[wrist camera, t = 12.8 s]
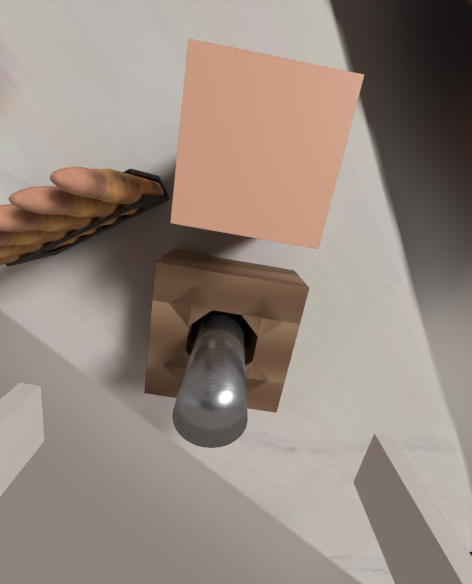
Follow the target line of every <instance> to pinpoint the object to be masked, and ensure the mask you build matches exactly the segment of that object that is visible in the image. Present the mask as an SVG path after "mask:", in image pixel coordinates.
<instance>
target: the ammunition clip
mask: <svg viewBox="0 0 472 584" xmlns="http://www.w3.org/2000/svg"><path fill="white" fill-rule="evenodd" d="M50 179H51V181H52V182H53V183H54V184H55V185H56V187H53V186H42V187H31V188H26V189H23V190H20V191H17V192H15V193H13V194H12V195H11V196H10V197H9V201H10V202H11V203H12V204H8V205H1V206H0V265H3V264H6V265H7V266H12V265H16V264H20V263H24V262H28V261H31V260H35V259H39V258H43V257H47V256H51V255H54V254H58V253H60V252H62V251H64V250H66V249H68V248H70V247H72V246H74V245H76V244H78V243H80V242H82V241H85V240H87V239H89V238H91V237H93V236H95V235H97V234H99V233H101V232H103V231H105V230H107V229H109V228H112V227H114V226H116V225H118V224H120V223H122V222H124V221H126V220H128V219H130V218H132V217H134V216H136V215H139V214H141V213H143V212H145V211H147V210H149V209H151V208H153V207H155V206H157V205H159V204H161V203H164V202H166V201H168V200H169V196H168V194H167V192H166V190H165V188H164V186H163V184H162V182H161V180H160V178H159V176H156V175H152V174H149V173H145V172H141V171H137V170H134V169H129V170H127V171H125V172H119V171H115V170H112V169H101V170H98V169H88V168H83V167H70V168H63V169H59V170H57V171H55V172H53V173H52V174H51V176H50Z"/></svg>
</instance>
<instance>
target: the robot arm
mask: <svg viewBox="0 0 472 584" xmlns="http://www.w3.org/2000/svg"><path fill="white" fill-rule="evenodd" d="M43 442H44V430H43V416H42V401H41V386H39V385H32V384H25V383H19V384H18V385H17V386H15V387H14V388H13V389H12V390H10V391H9V392H8V393H7V394H6V395H5V396H3V397H2V398H1V399H0V496H1V495H2V494H3V492H4V491H5V490H6V489H7V487H8V486H9V485H10V484H11V482H12V481H13V480H14V479H15V477H16V476H17V475H18V474H19V472H20V471H21V470H22V469H23V467H24V466H25V465H26V464H27V462H28V461H29V460H30V458H31V457H32V456H33V455H34V454H35V452H36V451H37V450H38V448H39V447H40V446H41V445H42V443H43ZM354 485H355V487H356V489H357V492H358V494H359V497H360V499H361V502H362V504H363V506H364V509H365V511H366V514H367V516H368V519H369V521H370V524H371V526H372V528H373V531H374V533H375V536H376V538H377V541H378V543H379V546H380V548H381V550H382V553H383V555H384V558H385V560H386V563H387V565H388V568H389V570H390V572H391V575H392V577H393V580H394V582H395V584H472V552H469V551H468V550H467V548H466V547H465V545H464V544H463V542H462V541H461V539H460V538H459V536H458V534H457V533H456V531H455V530H454V528H453V527H452V525H451V524H450V522H449V521H448V519H447V518H446V516H445V515H444V513H443V512H442V510H441V509H440V507H439V506H438V504H437V502H436V501H435V499H434V498H433V496H432V495H431V493H430V492H429V490H428V489H427V487H426V486H425V484H424V483H423V481H422V480H421V478H420V477H419V475H418V473H417V472H416V470H415V469H414V467H413V466H412V464H411V463H410V461H409V460H408V458H407V457H406V455H405V454H404V452H403V451H402V449H401V448H400V446H399V444H398V443H397V441H396V440H395V438H394V437H393V436H391V435H384V434H377V433H374V436H373V438H372V440H371V443H370V445H369V447H368V450H367V452H366V454H365V457H364V459H363V461H362V464H361V466H360V468H359V471H358V473H357V475H356V478H355V480H354Z"/></svg>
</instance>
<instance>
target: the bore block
mask: <svg viewBox="0 0 472 584" xmlns="http://www.w3.org/2000/svg"><path fill="white" fill-rule="evenodd" d="M308 291H309V287H308V286H307V285H306V284H305V283H304V281H303V280H302V279H301V278H300V277H299V276H298V274H297V273H296V272H295V271H293V270H288V269H282V268H276V267H270V266H264V265H258V264H253V263H247V262H241V261H235V260H229V259H223V258H218V257H212V256H206V255H200V254H194V253H188V252H183V251H177V250H172V251H171V252H170V253H168V254H167V255H165V256H164V257H162V258H161V259H159V260H158V261H157V262H156V264H155V276H154V287H153V299H152V311H151V323H150V335H149V346H148V358H147V370H146V382H145V393H148V394H154V395H161V396H168V397H175V398H177V397H178V394H179V391H180V387H181V384H182V381H183V378H184V375H185V371H186V368H187V365H188V362H189V359H190V356H191V352H192V349H193V346H194V343H195V340H196V336H197V333H198V330H199V326H198V324H197V323H196V321H197V320H198V319H200V318H201V317H203V316H204V315H206V314H207V313H209V312H210V311H212V310H215V311H221V312H228V313H234V314H240V315H242V316H243V317H244V319H245V320H246V321H247V323H248V324H249V325H250V331H249V332H247V333H246V334H244V351H245V373H246V396H247V408H249V409H256V410H263V411H269V412H277V408H278V405H279V401H280V397H281V393H282V389H283V386H284V382H285V378H286V374H287V370H288V367H289V363H290V359H291V355H292V351H293V348H294V344H295V340H296V336H297V333H298V329H299V325H300V321H301V317H302V314H303V310H304V306H305V302H306V298H307V295H308Z"/></svg>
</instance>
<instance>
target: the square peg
mask: <svg viewBox="0 0 472 584" xmlns="http://www.w3.org/2000/svg"><path fill="white" fill-rule="evenodd" d="M363 77H364V75H362V74H358V73H353V72H349V71H344V70H339V69H334V68H329V67H324V66H319V65H315V64H310V63H305V62H300V61H295V60H290V59H286V58H281V57H276V56H271V55H266V54H261V53H257V52H252V51H247V50H242V49H237V48H232V47H228V46H223V45H218V44H213V43H208V42H203V41H199V40H194V39H189V38H188V48H187V58H186V68H185V79H184V89H183V99H182V109H181V120H180V130H179V140H178V150H177V160H176V171H175V181H174V191H173V201H172V212H171V222H170V223H172V224H178V225H184V226H190V227H195V228H201V229H207V230H212V231H218V232H224V233H229V234H235V235H241V236H246V237H252V238H258V239H263V240H269V241H275V242H280V243H286V244H292V245H297V246H303V247H309V248H315V249H319V245H320V241H321V237H322V233H323V230H324V226H325V222H326V218H327V214H328V211H329V207H330V203H331V199H332V195H333V192H334V188H335V184H336V180H337V176H338V172H339V169H340V165H341V161H342V157H343V153H344V150H345V146H346V142H347V138H348V134H349V131H350V127H351V123H352V119H353V115H354V112H355V108H356V104H357V100H358V96H359V92H360V88H361V85H362V81H363Z"/></svg>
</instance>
